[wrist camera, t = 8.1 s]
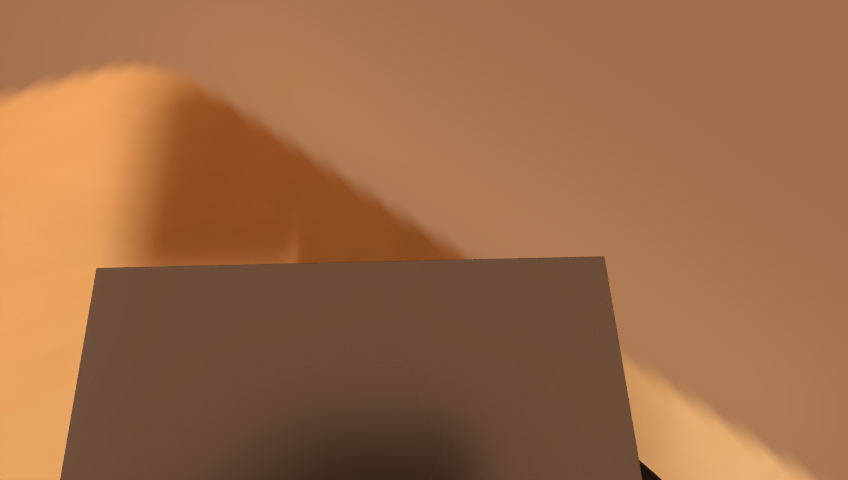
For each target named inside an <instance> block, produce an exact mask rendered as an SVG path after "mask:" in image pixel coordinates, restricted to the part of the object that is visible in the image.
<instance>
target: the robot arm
mask: <svg viewBox="0 0 848 480" xmlns="http://www.w3.org/2000/svg"><path fill="white" fill-rule="evenodd" d="M639 464H640V469H641V475H642V480H661V479H660V478H659V477H658V476H657V475H656V474H655V473H654V472H652V471H651V470H650V469H649V468H648V467H647V466H646V465H644V464H643V463H642V462H641V461H640V460H639Z"/></svg>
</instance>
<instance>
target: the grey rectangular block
mask: <svg viewBox="0 0 848 480" xmlns="http://www.w3.org/2000/svg"><path fill="white" fill-rule="evenodd" d="M60 480H642V475H641V469H640V464H639V458H638V452H637V446H636V440H635V434H634V428H633V422H632V417H631V411H630V405H629V399H628V393H627V387H626V381H625V376H624V370H623V364H622V358H621V352H620V346H619V340H618V335H617V329H616V323H615V317H614V311H613V305H612V299H611V294H610V288H609V283H608V276H607V270H606V264H605V259H604V257H561V258H518V259H474V260H430V261H387V262H343V263H299V264H256V265H212V266H168V267H125V268H97V269H96V275H95V280H94V286H93V292H92V298H91V304H90V310H89V315H88V321H87V327H86V333H85V339H84V345H83V350H82V356H81V362H80V368H79V374H78V379H77V385H76V391H75V397H74V403H73V409H72V414H71V420H70V426H69V432H68V438H67V444H66V449H65V455H64V461H63V467H62V473H61V479H60Z"/></svg>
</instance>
